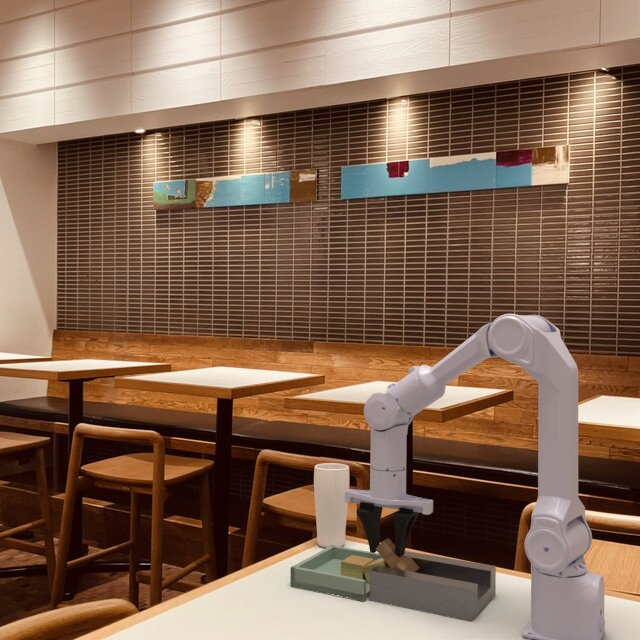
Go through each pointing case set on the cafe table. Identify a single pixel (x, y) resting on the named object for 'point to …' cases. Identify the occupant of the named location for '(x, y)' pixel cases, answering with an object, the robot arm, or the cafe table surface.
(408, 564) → the stepped wooden block
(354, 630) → the cafe table surface
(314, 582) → the tray
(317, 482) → the drinking glass
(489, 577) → the grey open tray
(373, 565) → the tan square block
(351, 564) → the tan wooden square block
